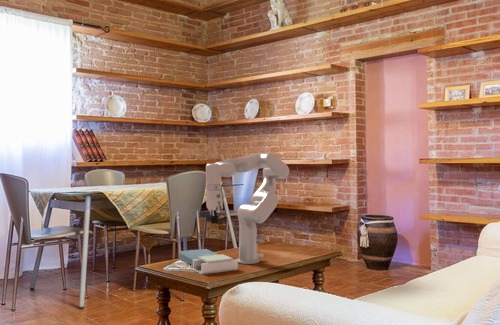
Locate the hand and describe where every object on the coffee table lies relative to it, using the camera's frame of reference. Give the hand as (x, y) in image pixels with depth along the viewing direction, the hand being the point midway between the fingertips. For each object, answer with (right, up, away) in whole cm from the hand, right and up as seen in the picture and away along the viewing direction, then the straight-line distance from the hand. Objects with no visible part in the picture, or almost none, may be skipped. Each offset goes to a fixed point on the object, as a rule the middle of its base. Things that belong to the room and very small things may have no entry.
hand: (214, 223), depth 245 cm
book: (-8, -23, +13) cm, 28 cm away
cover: (+1, -18, -4) cm, 18 cm away
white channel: (+1, -23, -4) cm, 23 cm away
